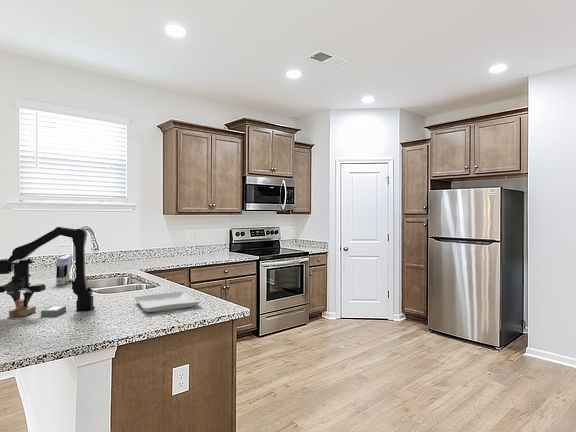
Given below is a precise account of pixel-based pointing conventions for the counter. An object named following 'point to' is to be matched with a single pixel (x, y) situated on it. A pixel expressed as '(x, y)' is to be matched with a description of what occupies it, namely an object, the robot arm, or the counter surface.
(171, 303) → the square plate
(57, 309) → the board
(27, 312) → the block on square base
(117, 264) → the counter surface
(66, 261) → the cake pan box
